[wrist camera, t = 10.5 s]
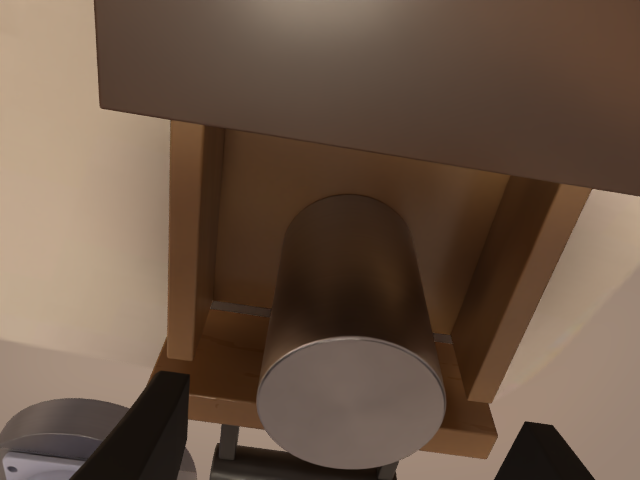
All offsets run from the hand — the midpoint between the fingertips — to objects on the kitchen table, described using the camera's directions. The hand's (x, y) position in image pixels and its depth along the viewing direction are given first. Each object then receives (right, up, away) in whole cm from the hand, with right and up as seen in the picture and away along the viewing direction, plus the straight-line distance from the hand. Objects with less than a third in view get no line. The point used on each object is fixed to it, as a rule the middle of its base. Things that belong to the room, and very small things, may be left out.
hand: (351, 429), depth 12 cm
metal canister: (0, +4, +6) cm, 7 cm away
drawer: (0, +3, +8) cm, 8 cm away
